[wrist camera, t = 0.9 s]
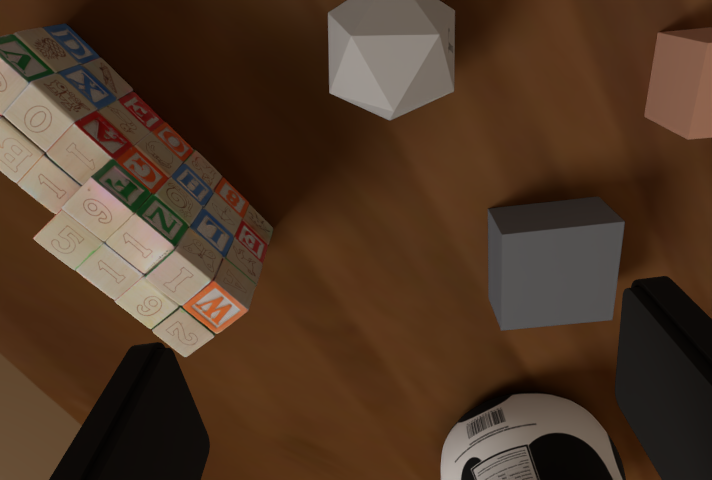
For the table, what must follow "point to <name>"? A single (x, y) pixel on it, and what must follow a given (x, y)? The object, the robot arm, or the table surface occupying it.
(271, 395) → the table surface
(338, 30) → the die
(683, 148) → the table surface
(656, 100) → the terracotta cube
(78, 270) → the stack of blocks
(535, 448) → the milk container
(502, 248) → the charcoal block
